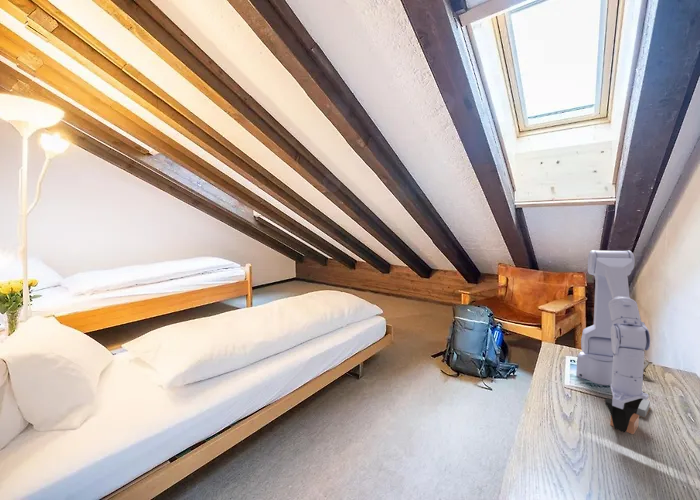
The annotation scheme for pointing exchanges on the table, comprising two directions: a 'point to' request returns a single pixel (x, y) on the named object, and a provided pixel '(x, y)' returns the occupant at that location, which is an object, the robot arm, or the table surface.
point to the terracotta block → (631, 423)
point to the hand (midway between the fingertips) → (624, 423)
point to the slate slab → (643, 408)
